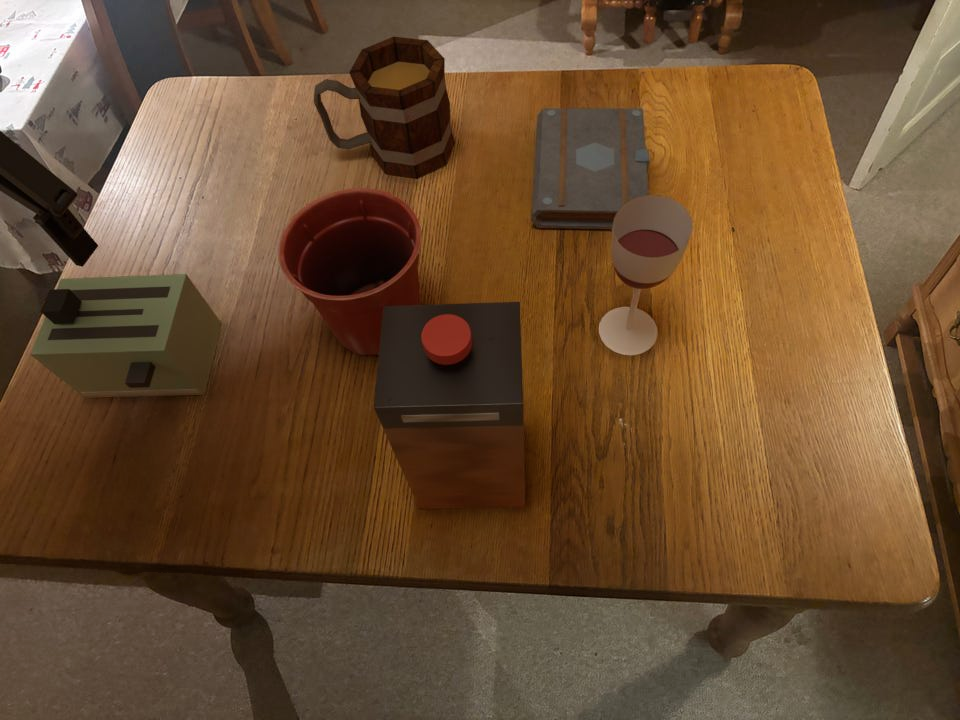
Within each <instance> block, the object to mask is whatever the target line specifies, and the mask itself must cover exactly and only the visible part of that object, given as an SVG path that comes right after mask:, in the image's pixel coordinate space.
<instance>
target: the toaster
mask: <svg viewBox="0 0 960 720" xmlns="http://www.w3.org/2000/svg"><path fill="white" fill-rule="evenodd" d="M56 289H70V290H71V291H72V292H73V293H74V294H75V295H76V296H77V297H78V298H79V299H80V300H81V301H82V303H81V305H80V308H79V311H78V313H77V316H76V318H75V321H74V323H73V324H53V323H52V322H51V321H50V320H49V319H48V318H47V317H46V316H45V315H44V316H45V317H44V319H43V322H42V324H41V326H40V328H39V332H38V334H37V336H36V339H35V340H34V343H33V346H32V348H31V351H30V353H29V355H30V356H31V357H32V358H33V359H35V360H36V361H37V362H39V363H40V364H41V365H42V366H44V367H45V369H48V370H49V371H50V372H51V373H53V374H54V375H55V376H56V377H57V378H58V379H60V380H61V381H63V382H64V383H66V385H68V387H70V388H72V389H73V390H74V391H76V393H78V394H79V395H80V396H82V397H83V398H85V399H90V398H91V399H93V398H127V397H128V398H130V397H133V398H134V397H166V396H167V397H169V396H203V395H204V396H205V395H206V391H207V387H208V382H209V378H210V375H211V370H212V365H213V362H214V359H215V355H216V350H217V345H218V343H219V342H218V341H219V337H220V333H221V328H222V325H223V323H222V322H221V320H220V319H219V317H218V316H217V315H216V313H215V312H214V310H213V309H212V307H211V306H210V305H209V303H208V302H207V301H206V299H205V298H204V296H203V295H202V294H201V292H200V291H199V289H198V288H197V287H196V285H195V284H194V283H193V281H192V280H191V279H190V277H189V276H188V274H186V273H178V274H177V273H176V274H175V273H174V274H173V273H172V274H151V275H150V274H149V275H148V274H147V275H125V276H97V277H95V276H93V277H69V278H68V277H67V278H60V279H59V282H58V285H57V286H56Z"/></svg>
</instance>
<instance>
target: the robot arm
mask: <svg viewBox="0 0 960 720" xmlns="http://www.w3.org/2000/svg"><path fill="white" fill-rule="evenodd" d="M0 192H1V193H3V194H4V195H6V196H8V197H9V198H11V199H13V200H14V201H16V202H17V203H19V204H20V205H22V206H23V207H25V208H26V209H28V210H30V211H31V212H32V213H34V216H33V217H32V219H33V220H34V223H35V224H37V225H39V227H40V228H41V229H42V230H43V231H44V232H45V233H46V234H47V235H48V236H49V238H50V239H51V240H52V241H53V242H54V243H55V244H56V245H57V246H58V247H59V248H60V249H61V250H62V252H63V253H64V254H65V255H66V256H67V257H68V258H69V259H70V261H72V263H74V265H75V266H77V267H82V268H83V267H84V266H85V265H86V264H87V262H88V261H89V259H90V258H91V257H92V255H93V254H94V252H95V251H96V250H97V248H98V247H99V244H98V243H97V242H96V241H95V240H94V238H93V237H92V236H91V235H90V234H89V232H88V231H87V230H86V229H85V228H84V226H83V224H82V223H81V222H80V221H79V220H78V218H77V217H76V216H75V215H74V213H73V212H72V211H71V210H70V209H69V207H70V206H71V205H72V204H73V202H74V201H75V200H76V199H77V197H78V193H77V192H76V191H75V190H74V189H73V188H72V187H71V186H69V185H68V184H67V183H65V182H64V181H63V180H62V179H61V178H59V177H58V176H57V175H56V174H55V173H53V172H52V171H51V170H49V169H48V168H47V167H46V166H45V165H43V163H41V162H39V161H38V160H37V159H36V158H35V157H33V155H31V154H30V153H29V152H27V151H26V150H25V149H24V148H23V147H21V146H20V145H19V144H17V143H16V142H15V141H14V140H12V139H11V138H10V137H9V136H7V134H5V133H4V132H3V131H1V130H0Z"/></svg>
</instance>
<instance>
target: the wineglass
mask: <svg viewBox="0 0 960 720" xmlns="http://www.w3.org/2000/svg"><path fill="white" fill-rule="evenodd" d="M693 222H694V221H693V219H692V216H691V214H690V212H689V210H688V209H687V208H686V207H685V206H684V205H683V204H682V203H680V202H679V201H677V200H675V199H673V198H671V197H667V196H664V195H658V194H657V195H656V194H648V196H642V197H638V198H635V199H633V200H631V201H629V202H627V203H626V204H625V205H623V206H622V207H621V208H620V209H619V211H618V212H617V214H616V216H615V218H614V222H613V228H612V229H611V243H610V251H611V252H610V253H611V254H610V255H611V261H612V266H613V270H614V271H615V273H616V276H617V277H618V278H619V280H621V282H622V283H624V284H625V285H626V286H627V287H630V288H633V294H632V298H631V302H630V306H620V307H615V308H613V309H611V310H609V311H607V312H606V313H605V314H604V315H603V316H602V317H601V319H600V322H599V324H598V334H599V337H600V338H599V339H600V340H601V342H602V343H603V344H604V345H605V347H607V348H608V349H609V350H611V351H612V352H613V353H617V354H619V355H622V356H623V355H624V356H635V355H636V356H637V355H641V354H644V353H646V352H648V351H649V350H650V349H651V348H652V347H653V346H654V345H655V343H656V341H657V339H658V327H657V324H656V322H655V320H654V319H653V318H652V317H651V315H650V314H649V313H647V312H646V311H644V310H642V309H640V308H638V303H639V300H640V295H641V291H642V290H647V289H652V288H654V287H657V286H659V285H661V284H663V283H664V282H665V281H667V279H669V278H670V277H671V276H672V275H673V273H674V272H675V271H676V270H677V269H678V267H679V265H680V263H681V261H682V259H683V258H684V256H685V253H686V251H687V248H688V245H689V242H690V240H691V236H692V235H693V228H694V223H693Z"/></svg>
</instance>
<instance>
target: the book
mask: <svg viewBox="0 0 960 720" xmlns="http://www.w3.org/2000/svg"><path fill="white" fill-rule="evenodd" d="M535 132H536V133H535V148H534V166H533V182H532V198H531V199H532V200H531V215H530V216H531V218H530V220H531V222H532V223H533V224H534V226H535V227H536V228H537V229H578V230H612V228H613V222H614V218H615V216H616V214H617V212H618V211H619V209H620V208H621V207H622V206H623V205H625V204H626V203H627V202H629V201H631V200H633V199H635V198H638V197H642V196H648V195H649V186H648V185H649V184H648V183H649V182H648V171H649V167H650V150H649V149H646V134H645V118H644V108H640V107H639V108H634V107H633V108H628V107H627V108H624V107H623V108H621V107H618V108H617V107H615V108H613V107H612V108H611V107H609V108H608V107H607V108H606V107H603V108H602V107H599V108H598V107H596V108H594V107H593V108H592V107H591V108H587V107H586V108H585V107H584V108H582V107H580V108H579V107H578V108H577V107H563V108H562V107H555V108H554V107H552V108H551V107H548V108H547V107H542V109H541V110H540V111H539V112H538V113H537V115H536V129H535Z"/></svg>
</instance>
